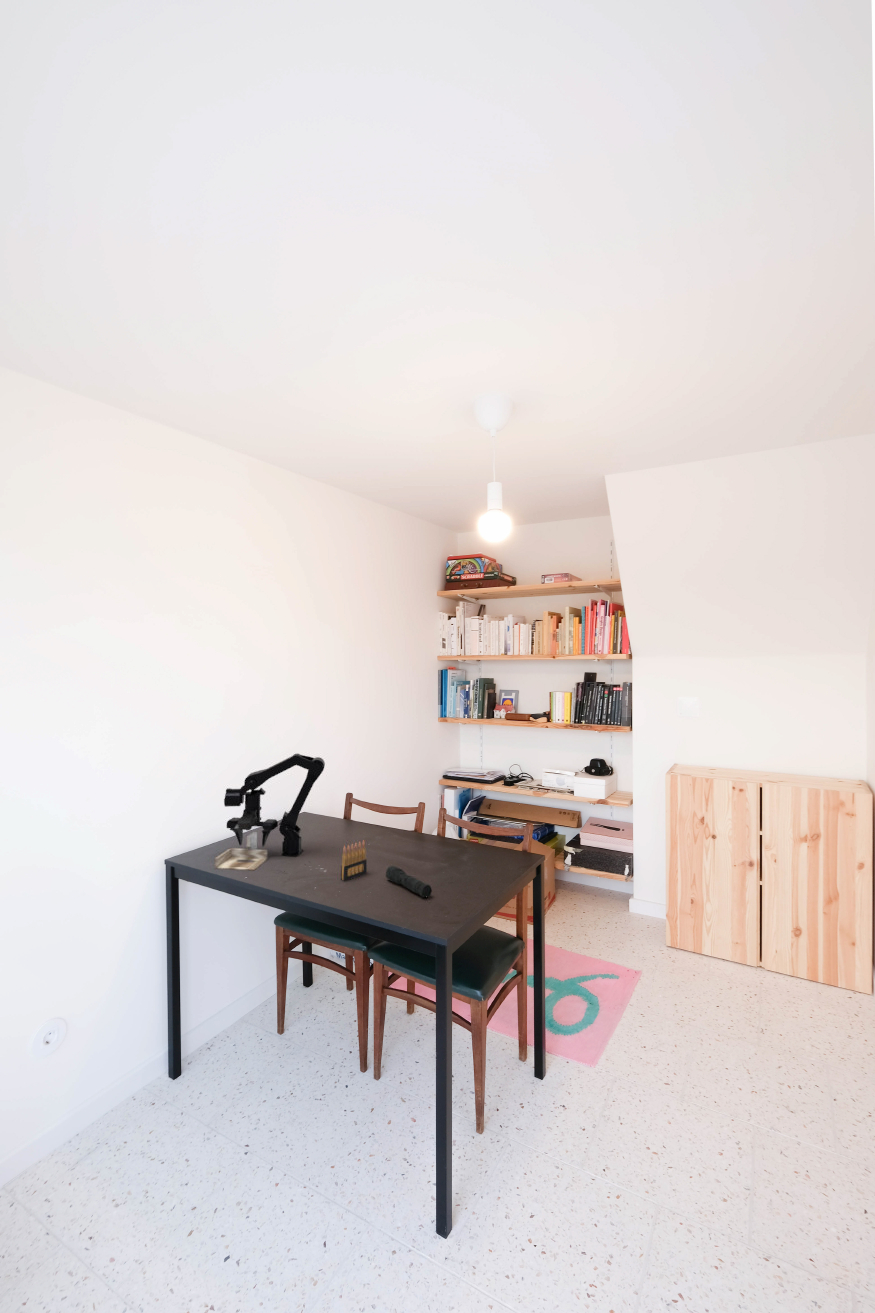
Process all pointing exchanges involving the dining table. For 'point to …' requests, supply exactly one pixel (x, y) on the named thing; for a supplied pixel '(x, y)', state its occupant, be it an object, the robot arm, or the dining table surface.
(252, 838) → the bracket
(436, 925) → the dining table surface
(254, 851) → the tray
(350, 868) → the ammunition clip
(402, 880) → the flashlight
